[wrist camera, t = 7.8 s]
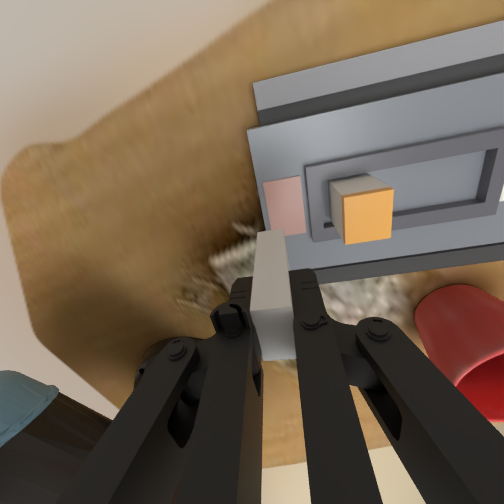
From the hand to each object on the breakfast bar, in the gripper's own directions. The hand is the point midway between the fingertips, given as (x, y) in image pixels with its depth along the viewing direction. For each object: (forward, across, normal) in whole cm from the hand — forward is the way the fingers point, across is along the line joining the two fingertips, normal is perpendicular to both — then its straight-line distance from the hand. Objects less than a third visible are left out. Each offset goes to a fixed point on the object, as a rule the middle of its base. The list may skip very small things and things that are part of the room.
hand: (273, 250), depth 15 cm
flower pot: (+11, +18, -17) cm, 27 cm away
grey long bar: (+11, +12, +8) cm, 18 cm away
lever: (+7, +6, 0) cm, 10 cm away
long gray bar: (+11, +10, -9) cm, 17 cm away
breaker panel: (+11, +10, 0) cm, 15 cm away
